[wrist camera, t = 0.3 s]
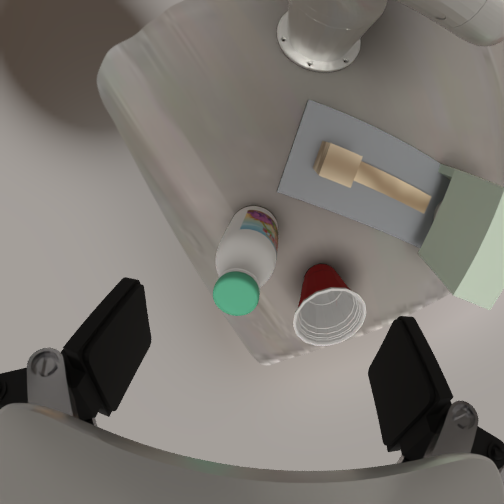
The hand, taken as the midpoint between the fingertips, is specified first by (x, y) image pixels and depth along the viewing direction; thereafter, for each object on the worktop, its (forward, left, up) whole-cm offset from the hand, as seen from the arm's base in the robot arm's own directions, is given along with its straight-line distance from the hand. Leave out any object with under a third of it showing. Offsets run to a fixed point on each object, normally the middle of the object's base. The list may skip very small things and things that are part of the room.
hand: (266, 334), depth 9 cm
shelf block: (-5, +29, -34) cm, 46 cm away
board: (-5, +18, -34) cm, 39 cm away
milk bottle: (+9, -1, -35) cm, 36 cm away
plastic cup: (+14, +13, -35) cm, 40 cm away
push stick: (-5, +14, -33) cm, 37 cm away
